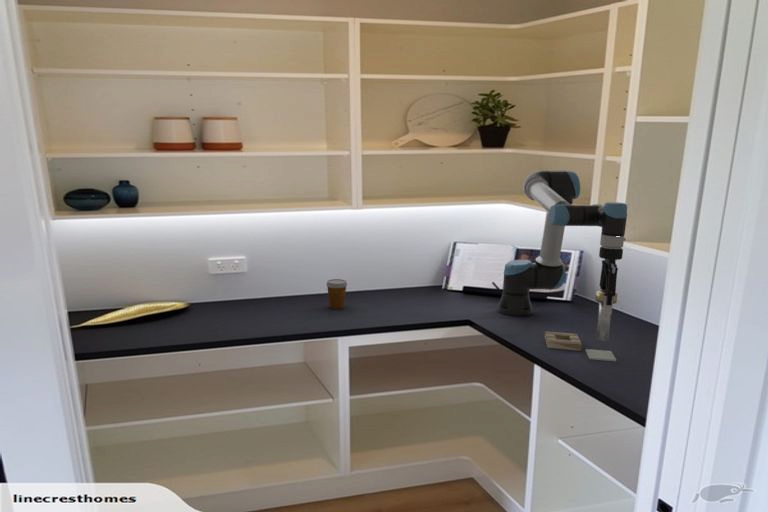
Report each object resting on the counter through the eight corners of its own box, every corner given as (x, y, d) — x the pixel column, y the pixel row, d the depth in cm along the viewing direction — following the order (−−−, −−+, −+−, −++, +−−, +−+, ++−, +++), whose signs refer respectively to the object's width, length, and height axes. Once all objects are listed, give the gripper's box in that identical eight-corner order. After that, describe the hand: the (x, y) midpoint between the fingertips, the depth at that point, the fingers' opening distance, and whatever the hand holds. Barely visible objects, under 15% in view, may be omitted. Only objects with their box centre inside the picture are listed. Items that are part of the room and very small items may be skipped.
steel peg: (590, 334, 205) (594, 289, 202) (610, 336, 204) (615, 291, 201) (593, 341, 199) (598, 294, 195) (614, 342, 197) (619, 296, 194)
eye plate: (544, 337, 221) (545, 331, 221) (576, 340, 219) (576, 333, 219) (547, 347, 210) (548, 341, 209) (581, 350, 208) (581, 344, 207)
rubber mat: (585, 350, 208) (585, 349, 208) (610, 352, 206) (611, 351, 206) (589, 359, 199) (589, 357, 199) (616, 361, 197) (616, 359, 197)
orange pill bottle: (340, 303, 263) (341, 278, 261) (350, 308, 255) (351, 282, 253) (322, 305, 258) (322, 280, 256) (332, 310, 250) (332, 284, 248)
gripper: (630, 252, 185) (622, 319, 189) (616, 243, 204) (610, 304, 208) (606, 251, 186) (599, 318, 190) (594, 241, 205) (589, 302, 210)
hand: (605, 310), depth 199 cm, fingers closed on steel peg, 7 cm apart
